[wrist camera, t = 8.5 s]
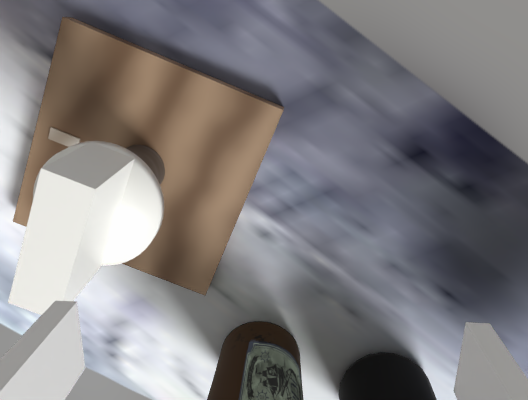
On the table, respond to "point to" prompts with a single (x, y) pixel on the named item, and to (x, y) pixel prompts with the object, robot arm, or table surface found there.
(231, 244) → the table surface
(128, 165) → the cap
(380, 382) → the coffee jar
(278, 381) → the olive oil
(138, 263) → the post board
